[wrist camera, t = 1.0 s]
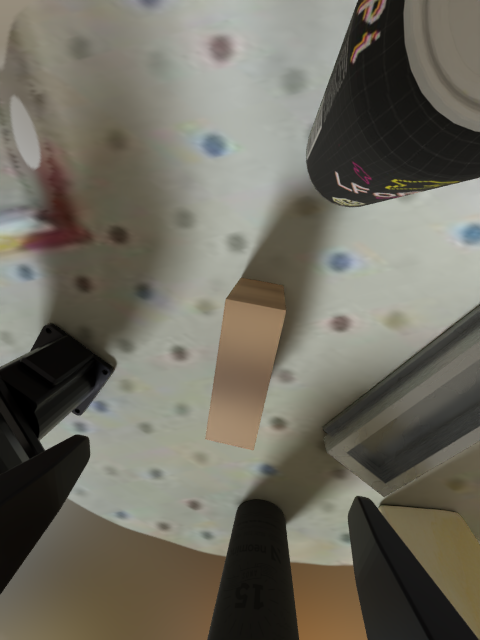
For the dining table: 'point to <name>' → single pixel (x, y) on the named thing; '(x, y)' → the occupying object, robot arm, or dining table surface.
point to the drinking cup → (256, 579)
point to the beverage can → (400, 103)
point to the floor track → (414, 413)
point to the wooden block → (245, 361)
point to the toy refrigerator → (443, 554)
